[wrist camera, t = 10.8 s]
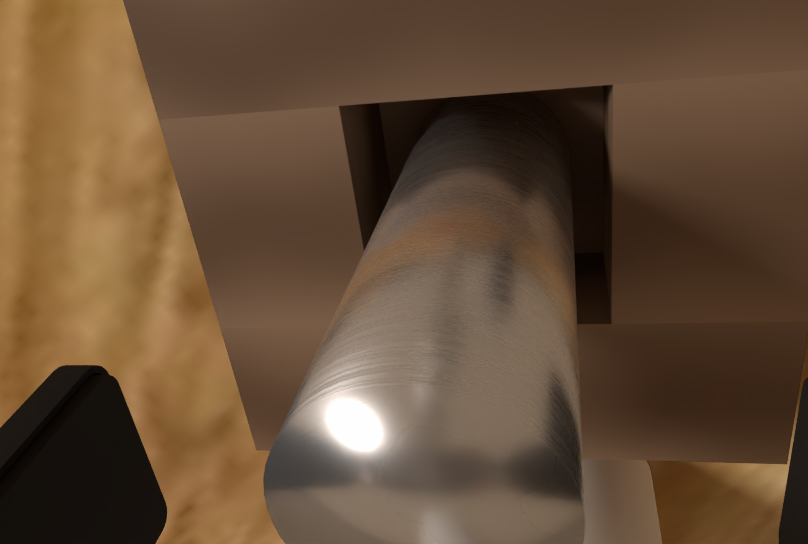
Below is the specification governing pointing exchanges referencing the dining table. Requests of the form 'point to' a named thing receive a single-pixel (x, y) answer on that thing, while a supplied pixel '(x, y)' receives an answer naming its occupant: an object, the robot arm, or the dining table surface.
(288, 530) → the steel peg
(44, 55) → the dining table surface
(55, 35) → the dining table surface
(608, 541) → the cylindrical container
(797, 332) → the walnut socket block
